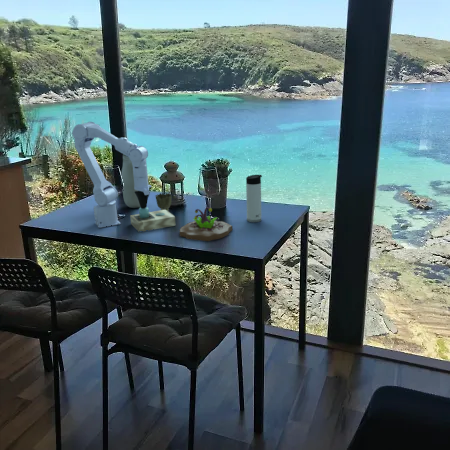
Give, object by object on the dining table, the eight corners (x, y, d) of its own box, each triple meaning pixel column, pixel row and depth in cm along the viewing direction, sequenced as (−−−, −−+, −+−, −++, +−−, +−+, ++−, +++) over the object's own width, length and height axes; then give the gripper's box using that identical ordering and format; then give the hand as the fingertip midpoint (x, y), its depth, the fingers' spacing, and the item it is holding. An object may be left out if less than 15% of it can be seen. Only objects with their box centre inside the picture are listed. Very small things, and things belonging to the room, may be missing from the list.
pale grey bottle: (121, 209, 231) (114, 151, 222) (131, 203, 240) (125, 147, 231) (140, 211, 228) (134, 152, 219) (149, 204, 237) (144, 148, 228)
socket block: (139, 232, 200) (138, 222, 198) (131, 224, 210) (130, 214, 209) (175, 225, 206) (174, 216, 205) (165, 217, 217) (165, 209, 215)
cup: (174, 208, 229) (172, 192, 227) (170, 213, 223) (169, 196, 220) (158, 209, 230) (157, 192, 228) (155, 213, 223) (153, 197, 221)
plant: (212, 244, 184) (210, 217, 181) (172, 236, 195) (170, 210, 191) (239, 229, 200) (238, 203, 196) (201, 222, 210) (199, 197, 207)
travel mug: (261, 222, 206) (260, 176, 199) (245, 222, 207) (244, 176, 201) (263, 218, 212) (262, 173, 205) (248, 217, 213) (247, 173, 206)
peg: (141, 218, 203) (140, 210, 202) (138, 216, 206) (137, 207, 205) (150, 217, 205) (149, 208, 203) (147, 214, 208) (146, 206, 207)
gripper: (155, 178, 195) (158, 210, 200) (144, 171, 208) (147, 202, 212) (138, 180, 192) (141, 213, 197) (128, 174, 205) (131, 204, 209)
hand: (143, 207), depth 204 cm, fingers closed
